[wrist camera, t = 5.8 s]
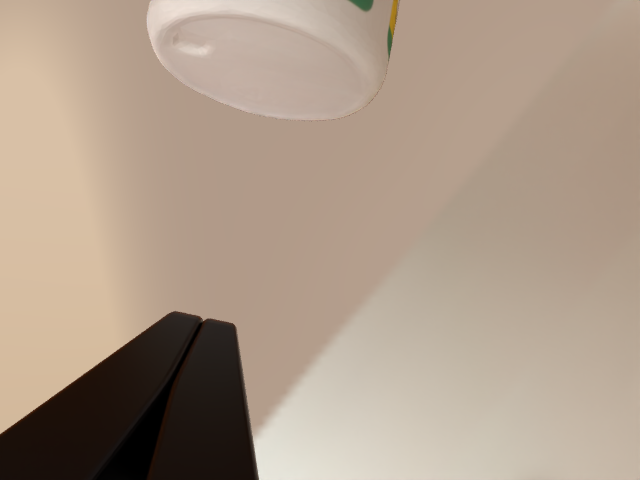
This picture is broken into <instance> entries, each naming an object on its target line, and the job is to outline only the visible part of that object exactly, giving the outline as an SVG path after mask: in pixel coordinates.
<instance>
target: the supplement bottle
mask: <svg viewBox="0 0 640 480" xmlns="http://www.w3.org/2000/svg"><path fill="white" fill-rule="evenodd" d="M399 1H400V0H151V1H150V4H149V8H148V13H147V29H148V34H149V37H150V41H151V45H152V47H153V50H154V52H155V54H156V56H157V58H158V60H159V61H160V62H161V64H163V66H164V67H165V68H166V69H167V70H168V71H169V72H170V73H171V74H172V75H173V76H174V77H176V78H177V79H178V80H179V81H180V82H182V83H183V84H185V85H186V86H188V87H189V88H191V89H193V90H194V91H197V92H198V93H201V94H203V95H205V96H207V97H209V98H211V99H213V100H216V101H218V102H220V103H222V104H225V105H228V106H230V107H233V108H236V109H239V110H242V111H245V112H248V113H252V114H256V115H260V116H264V117H271V118H276V119H285V120H302V121H321V120H334V119H338V118H342V117H346V116H348V115H350V114H353V113H355V112H357V111H359V110H360V109H362V108H363V107H365V106H366V105H367V104H369V103H370V102H371V101H372V99H373V98H374V97H375V96H376V94H377V93H378V91H379V90H380V88H381V86H382V84H383V82H384V79H385V76H386V72H387V66H388V61H389V57H390V51H391V46H392V39H393V34H394V29H395V24H396V19H397V13H398V6H399Z"/></svg>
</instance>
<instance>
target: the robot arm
mask: <svg viewBox="0 0 640 480" xmlns="http://www.w3.org/2000/svg"><path fill="white" fill-rule="evenodd" d="M0 480H259V477H258V470H257V463H256V457H255V450H254V443H253V436H252V430H251V423H250V417H249V410H248V403H247V396H246V389H245V383H244V376H243V369H242V362H241V356H240V349H239V342H238V336H237V329H236V327H235V325H234V324H233V323H229V322H224V321H219V320H215V319H206V320H205V321H203V319H202V318H201V317H200V316H196V315H191V314H186V313H182V312H176V311H174V312H171V313H169V314H167V315H166V316H165V317H163V318H162V319H161V320H159V321H158V322H156V323H155V324H153V325H152V326H151V327H149V328H148V329H146V330H145V331H144V332H142V333H141V334H139V335H138V336H137V337H135V338H134V339H133V340H131V341H130V342H128V343H127V344H125V345H124V346H123V347H121V348H120V349H119V350H117V351H116V352H114V353H113V354H112V355H110V356H109V357H108V358H106V359H104V360H103V361H102V362H100V363H99V364H98V365H96V366H95V367H93V368H92V369H91V370H89V371H88V372H86V373H85V374H84V375H82V376H81V377H79V378H78V379H77V380H75V381H74V382H72V383H71V384H70V385H68V386H67V387H65V388H64V389H63V390H61V391H60V392H58V393H57V394H56V395H54V396H53V397H51V398H50V399H49V400H47V401H46V402H45V403H43V404H42V405H40V406H39V407H38V408H36V409H35V410H33V411H32V412H30V413H29V414H28V415H27V416H25V417H24V418H23V419H21V420H19V421H18V422H17V423H15V424H14V425H12V426H11V427H10V428H8V429H7V430H5V431H4V432H3V433H1V434H0Z"/></svg>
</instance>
